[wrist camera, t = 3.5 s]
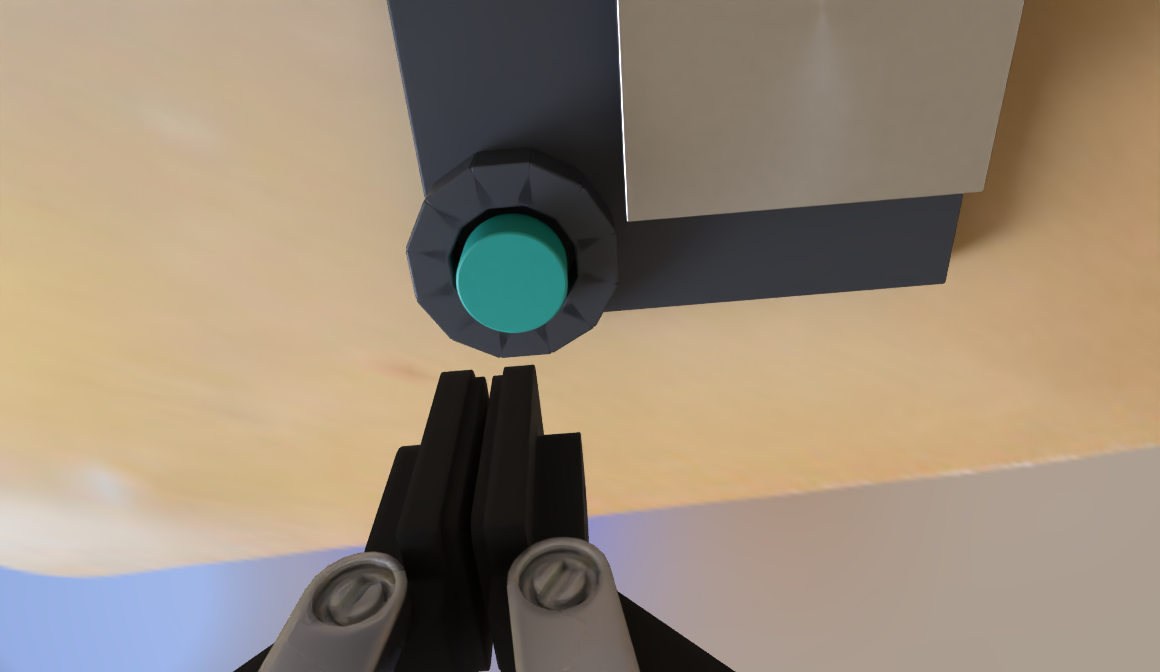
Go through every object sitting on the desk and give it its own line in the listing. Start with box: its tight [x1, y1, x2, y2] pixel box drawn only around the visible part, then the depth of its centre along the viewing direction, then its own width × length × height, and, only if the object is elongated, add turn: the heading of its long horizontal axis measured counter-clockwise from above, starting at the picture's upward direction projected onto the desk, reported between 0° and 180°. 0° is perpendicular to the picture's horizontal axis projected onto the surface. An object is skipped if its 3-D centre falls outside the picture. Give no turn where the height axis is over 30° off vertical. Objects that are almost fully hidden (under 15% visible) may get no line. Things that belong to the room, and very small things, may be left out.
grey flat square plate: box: [615, 0, 1025, 222], centre depth 16 cm, size 10×10×1 cm
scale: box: [387, 0, 963, 358], centre depth 19 cm, size 16×14×3 cm
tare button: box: [456, 213, 568, 333], centre depth 19 cm, size 3×3×2 cm
